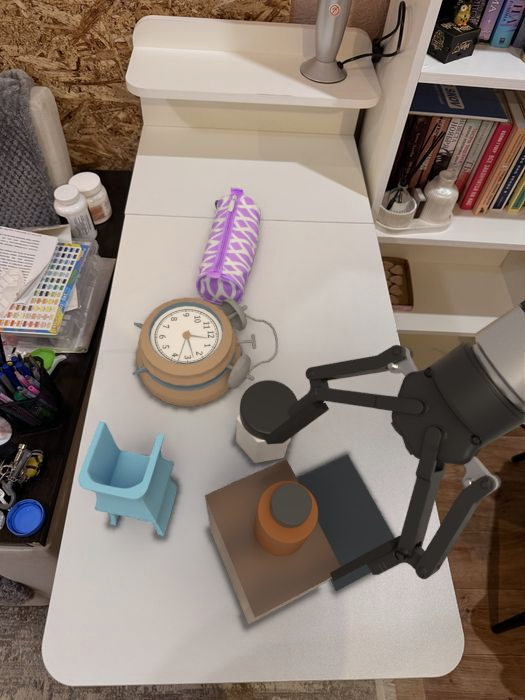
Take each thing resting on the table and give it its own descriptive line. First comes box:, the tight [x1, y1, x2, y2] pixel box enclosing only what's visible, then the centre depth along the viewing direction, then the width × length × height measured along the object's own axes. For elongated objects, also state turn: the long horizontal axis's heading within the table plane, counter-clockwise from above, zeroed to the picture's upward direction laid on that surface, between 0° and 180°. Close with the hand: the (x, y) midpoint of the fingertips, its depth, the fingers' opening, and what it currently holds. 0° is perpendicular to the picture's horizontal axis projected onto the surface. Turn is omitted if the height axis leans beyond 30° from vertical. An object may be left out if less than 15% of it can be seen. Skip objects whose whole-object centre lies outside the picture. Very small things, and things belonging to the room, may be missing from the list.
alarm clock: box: [131, 297, 279, 408], centre depth 82 cm, size 17×9×23 cm
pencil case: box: [195, 187, 262, 306], centre depth 93 cm, size 22×9×10 cm, turn 173°
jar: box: [235, 379, 299, 464], centre depth 75 cm, size 9×8×12 cm
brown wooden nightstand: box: [204, 458, 341, 625], centre depth 62 cm, size 13×10×20 cm
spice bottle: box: [254, 481, 318, 556], centre depth 49 cm, size 6×6×11 cm
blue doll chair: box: [77, 420, 178, 537], centre depth 65 cm, size 8×8×20 cm
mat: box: [296, 454, 396, 592], centre depth 74 cm, size 16×11×1 cm
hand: (304, 503), depth 49 cm, fingers open, 13 cm apart
